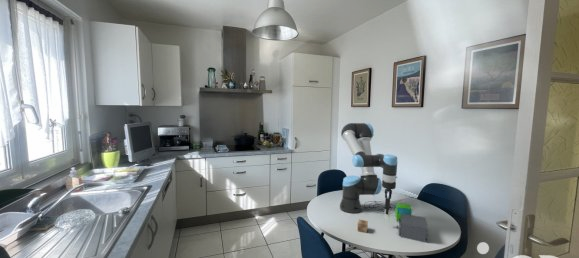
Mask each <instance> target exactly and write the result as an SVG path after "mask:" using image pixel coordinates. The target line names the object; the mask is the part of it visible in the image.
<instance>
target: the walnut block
mask: <svg viewBox="0 0 579 258" xmlns="http://www.w3.org/2000/svg"><path fill="white" fill-rule="evenodd" d="M368 222H369V221H368V220H364V219H359V220H358V221H357V232H360V233H364V234H367V233H368V226H369V225H368Z"/></svg>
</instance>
